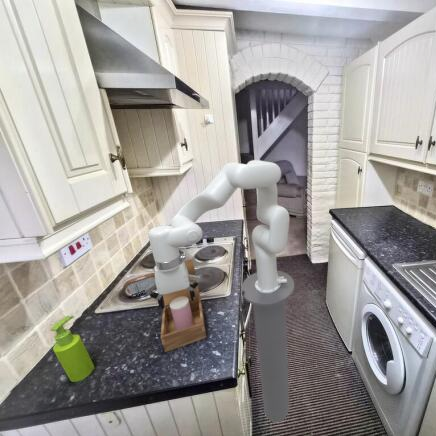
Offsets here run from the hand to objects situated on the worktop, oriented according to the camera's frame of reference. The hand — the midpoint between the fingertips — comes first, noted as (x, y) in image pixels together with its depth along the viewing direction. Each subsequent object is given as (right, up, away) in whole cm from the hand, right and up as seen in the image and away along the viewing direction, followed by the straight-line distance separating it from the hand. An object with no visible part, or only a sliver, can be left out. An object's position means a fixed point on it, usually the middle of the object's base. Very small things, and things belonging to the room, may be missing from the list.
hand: (178, 302), depth 83 cm
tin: (-28, -5, +25) cm, 38 cm away
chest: (0, -12, +5) cm, 13 cm away
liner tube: (0, -11, +5) cm, 12 cm away
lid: (-3, +5, +7) cm, 9 cm away
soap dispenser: (-25, -19, -10) cm, 33 cm away
